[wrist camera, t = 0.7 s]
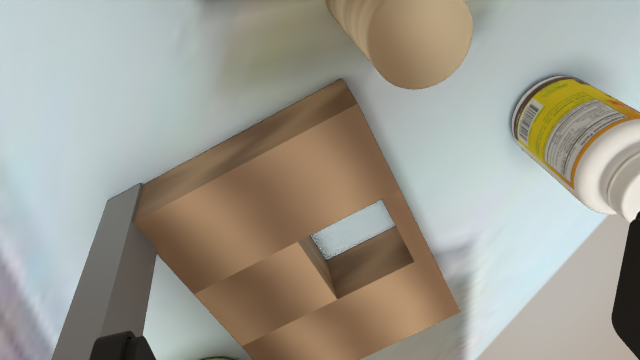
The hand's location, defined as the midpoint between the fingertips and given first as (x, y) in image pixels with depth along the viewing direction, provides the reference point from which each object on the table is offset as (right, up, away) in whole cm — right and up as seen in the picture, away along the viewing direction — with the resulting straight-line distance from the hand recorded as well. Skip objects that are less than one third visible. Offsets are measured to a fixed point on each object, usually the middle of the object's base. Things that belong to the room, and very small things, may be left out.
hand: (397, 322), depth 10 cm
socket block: (-2, -1, +26) cm, 26 cm away
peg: (+1, +13, +18) cm, 22 cm away
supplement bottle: (+13, +7, +24) cm, 29 cm away
